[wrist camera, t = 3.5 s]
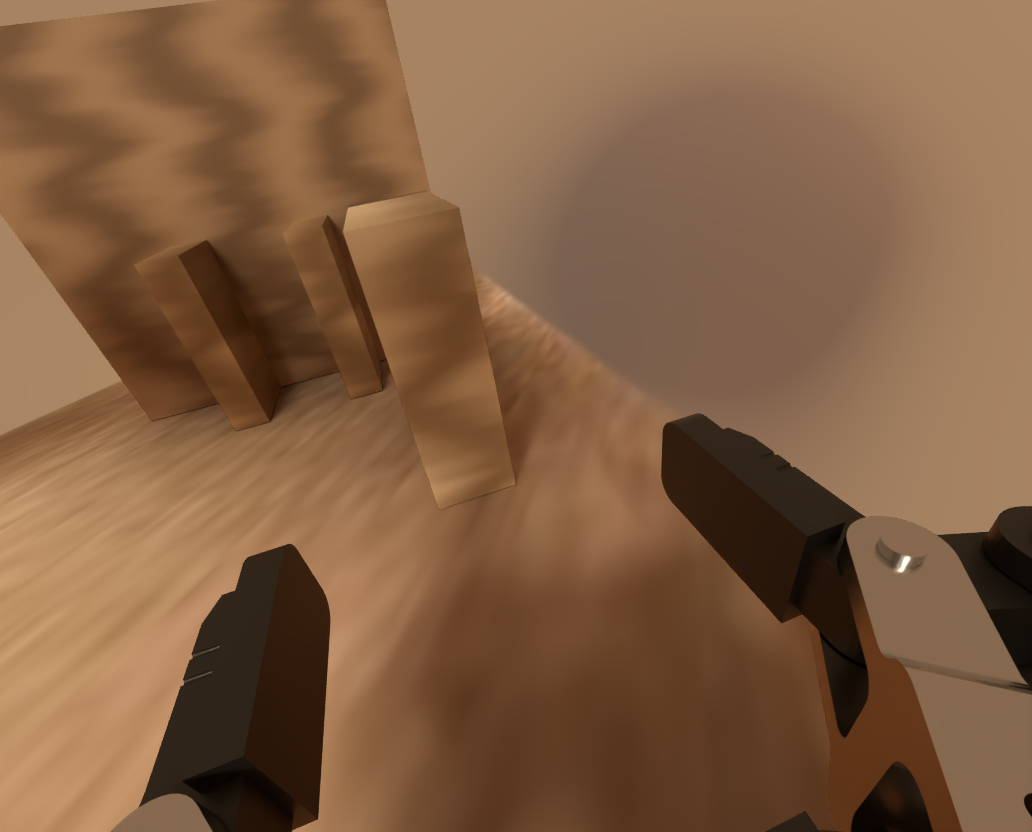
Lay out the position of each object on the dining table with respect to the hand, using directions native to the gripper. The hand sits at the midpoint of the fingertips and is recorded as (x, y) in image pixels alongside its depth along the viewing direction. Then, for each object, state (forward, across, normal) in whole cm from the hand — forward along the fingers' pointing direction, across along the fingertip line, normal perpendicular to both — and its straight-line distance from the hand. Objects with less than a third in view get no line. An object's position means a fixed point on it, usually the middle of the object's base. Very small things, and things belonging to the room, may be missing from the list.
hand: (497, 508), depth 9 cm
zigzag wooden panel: (+23, +8, +6) cm, 25 cm away
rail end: (+11, 0, +6) cm, 13 cm away
